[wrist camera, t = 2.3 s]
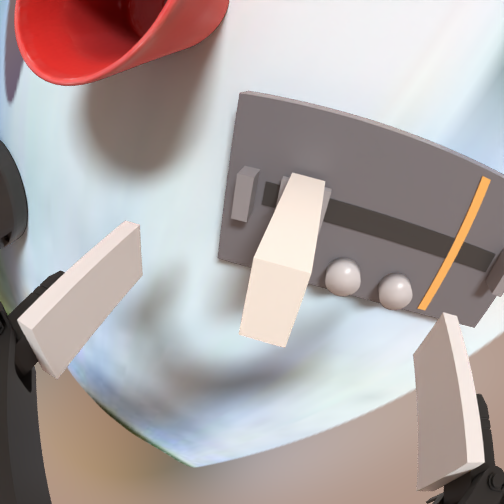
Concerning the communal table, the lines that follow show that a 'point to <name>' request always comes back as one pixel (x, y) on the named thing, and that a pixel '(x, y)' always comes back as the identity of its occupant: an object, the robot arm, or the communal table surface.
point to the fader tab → (284, 260)
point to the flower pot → (107, 34)
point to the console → (371, 207)
